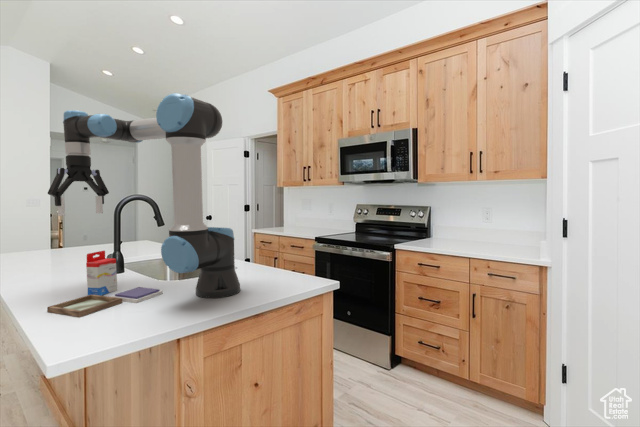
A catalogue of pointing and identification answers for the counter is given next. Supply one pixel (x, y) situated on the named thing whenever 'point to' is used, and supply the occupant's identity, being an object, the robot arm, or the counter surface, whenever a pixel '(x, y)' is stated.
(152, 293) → the ink pad
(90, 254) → the ink box
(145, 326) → the counter surface
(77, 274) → the counter surface
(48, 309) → the frame
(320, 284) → the counter surface
